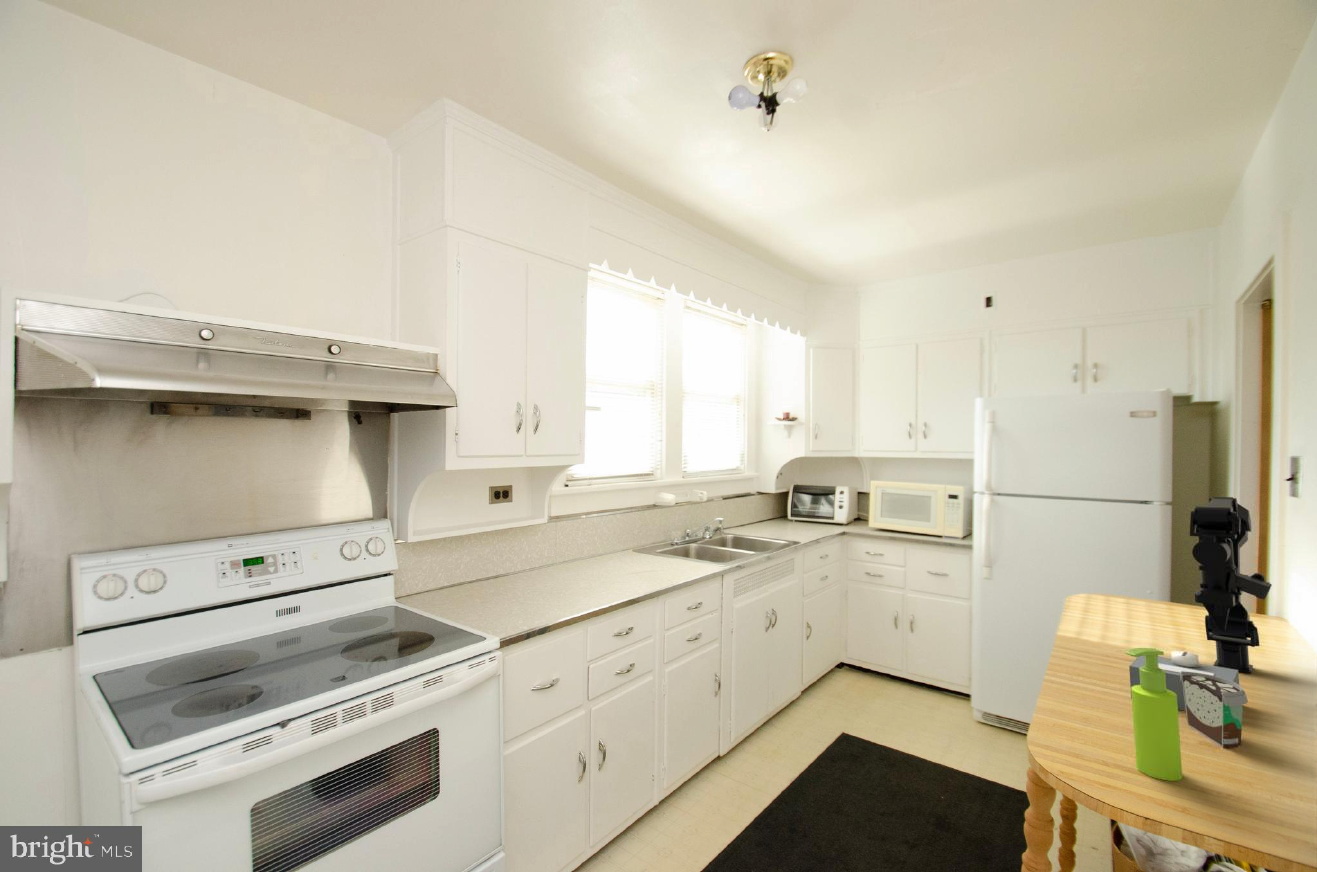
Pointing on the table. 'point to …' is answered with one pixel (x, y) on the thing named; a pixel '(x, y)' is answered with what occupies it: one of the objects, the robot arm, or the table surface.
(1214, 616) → the robot arm
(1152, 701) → the soap dispenser
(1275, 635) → the table surface
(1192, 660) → the knob
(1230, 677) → the console
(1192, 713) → the food container
